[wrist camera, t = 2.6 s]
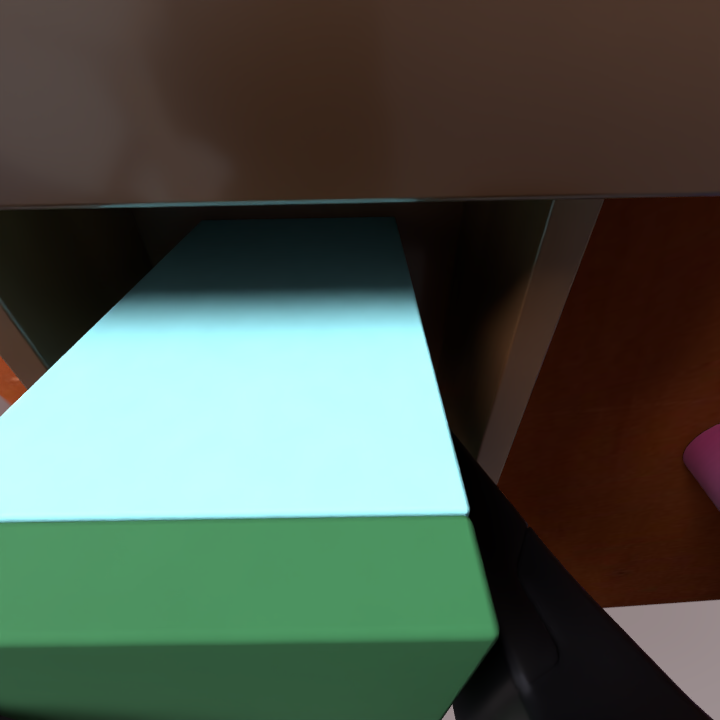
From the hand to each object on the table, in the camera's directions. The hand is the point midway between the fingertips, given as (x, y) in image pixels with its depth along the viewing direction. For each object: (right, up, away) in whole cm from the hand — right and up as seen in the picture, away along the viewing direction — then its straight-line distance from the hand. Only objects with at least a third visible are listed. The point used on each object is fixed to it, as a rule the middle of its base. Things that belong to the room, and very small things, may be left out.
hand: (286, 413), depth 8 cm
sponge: (0, +3, +4) cm, 5 cm away
